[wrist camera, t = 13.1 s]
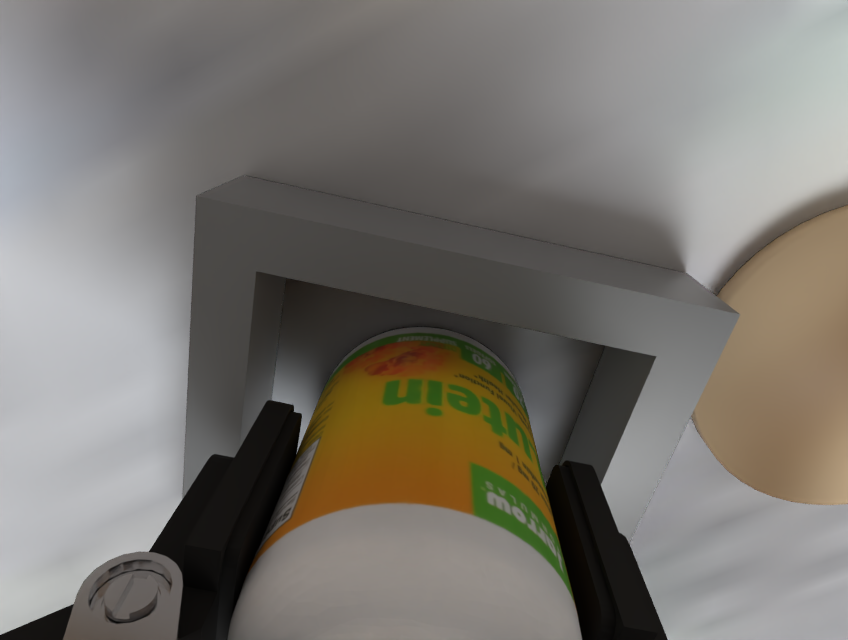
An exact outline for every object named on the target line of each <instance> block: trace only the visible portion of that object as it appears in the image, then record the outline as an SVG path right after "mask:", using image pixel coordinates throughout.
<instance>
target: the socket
mask: <svg viewBox="0 0 848 640" xmlns="http://www.w3.org/2000/svg"><path fill="white" fill-rule="evenodd" d="M286 278H290V279H295V280H299V281H304V282H309V283H314V284H318V285H323V286H328V287H332V288H337V289H342V290H346V291H351V292H356V293H361V294H365V295H370V296H375V297H379V298H384V299H389V300H393V301H398V302H403V303H408V304H412V305H417V306H422V307H426V308H431V309H436V310H441V311H445V312H450V313H455V314H459V315H464V316H469V317H473V318H478V319H483V320H488V321H492V322H497V323H502V324H506V325H511V326H516V327H520V328H525V329H530V330H535V331H539V332H544V333H549V334H553V335H558V336H563V337H567V338H572V339H577V340H582V341H586V342H591V343H596V344H600V345H605V348H604V351H603V353H602V356H601V358H600V361H599V364H598V366H597V369H596V371H595V374H594V377H593V379H592V382H591V384H590V387H589V389H588V392H587V395H586V397H585V400H584V402H583V405H582V408H581V410H580V413H579V415H578V418H577V420H576V423H575V426H574V428H573V431H572V433H571V436H570V439H569V441H568V444H567V446H566V449H565V451H564V454H563V457H562V459H561V462H560V464H559V465H560V466H562V464H563V463H564V461H566V460H569V461H574V462H579V463H584V464H589V465H592V466H593V467H594V469H595V472H596V474H597V477H598V480H599V482H600V485H601V487H602V490H603V492H604V495H605V498H606V500H607V503H608V505H609V508H610V510H611V513H612V516H613V518H614V521H615V523H616V526H617V528H618V531H619V533H622V534H623V535H624V536H625V537H626V539H627V540H628V542H629V543H630V541H631V539H632V537H633V535H634V533H635V531H636V529H637V527H638V525H639V522H640V520H641V518H642V516H643V514H644V512H645V510H646V508H647V506H648V504H649V502H650V500H651V498H652V496H653V494H654V492H655V489H656V487H657V485H658V483H659V481H660V479H661V477H662V475H663V473H664V471H665V469H666V467H667V465H668V463H669V461H670V459H671V457H672V454H673V452H674V450H675V448H676V446H677V444H678V442H679V440H680V438H681V436H682V434H683V432H684V430H685V428H686V426H687V424H688V421H689V419H690V417H691V415H692V413H693V411H694V409H695V407H696V405H697V403H698V401H699V399H700V397H701V395H702V393H703V391H704V389H705V386H706V384H707V382H708V380H709V378H710V376H711V374H712V372H713V370H714V368H715V366H716V364H717V362H718V360H719V358H720V356H721V354H722V351H723V349H724V347H725V345H726V343H727V341H728V339H729V337H730V335H731V333H732V331H733V329H734V327H735V325H736V323H737V321H738V318H739V316H740V314H739V313H738V312H737V311H735V310H734V309H733V308H731V307H730V306H729V305H727V304H726V303H725V302H724V301H722V300H721V299H720V298H718V297H717V296H716V295H714V294H713V293H712V292H711V291H709V290H708V289H707V288H705V287H704V286H703V285H701V284H700V283H699V282H698V281H696V280H695V279H694V278H692V277H691V276H690V275H688V274H687V273H683V272H679V271H674V270H670V269H665V268H660V267H656V266H651V265H647V264H642V263H638V262H633V261H629V260H624V259H620V258H615V257H611V256H606V255H602V254H597V253H593V252H588V251H584V250H579V249H575V248H570V247H565V246H561V245H556V244H552V243H547V242H543V241H538V240H534V239H529V238H525V237H520V236H516V235H511V234H507V233H502V232H498V231H493V230H489V229H484V228H480V227H475V226H470V225H466V224H461V223H457V222H452V221H448V220H443V219H439V218H434V217H430V216H425V215H421V214H416V213H412V212H407V211H403V210H398V209H394V208H389V207H384V206H380V205H375V204H371V203H366V202H362V201H357V200H353V199H348V198H344V197H339V196H335V195H330V194H326V193H321V192H317V191H312V190H308V189H303V188H299V187H294V186H289V185H285V184H280V183H276V182H271V181H267V180H262V179H258V178H253V177H249V176H244V175H243V176H241V177H239V178H236V179H234V180H232V181H229V182H227V183H225V184H222V185H220V186H218V187H215V188H213V189H211V190H208V191H206V192H204V193H201V194H199V195H197V196H196V214H195V236H194V258H193V280H192V302H191V324H190V346H189V368H188V390H187V412H186V434H185V456H184V478H183V498H184V496H185V495H186V493H187V492H188V490H189V488H190V487H191V485H192V484H193V482H194V481H195V479H196V477H197V476H198V474H199V473H200V471H201V470H202V468H203V467H204V465H205V463H206V462H207V460H208V459H209V458H210V457H211V455H213V454H218V455H223V456H228V457H235V455H236V454H237V452H238V450H239V448H240V447H241V445H242V443H243V441H244V440H245V438H246V436H247V434H248V433H249V431H250V429H251V427H252V426H253V424H254V422H255V420H256V419H257V417H258V415H259V413H260V412H261V410H262V408H263V406H264V405H265V403H266V402H267V401H268V400H272V391H273V383H274V374H275V366H276V357H277V349H278V340H279V332H280V323H281V315H282V307H283V298H284V290H285V281H286Z"/></svg>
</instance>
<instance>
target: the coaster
mask: <svg viewBox="0 0 848 640" xmlns="http://www.w3.org/2000/svg"><path fill="white" fill-rule="evenodd" d="M717 297H718V298H720V299H721V300H722V301H724V302H725V303H726V304H727V305H729V306H730V307H731V308H733V309H734V310H735V311H737V312H738V313H739V314H740V316H739V318H738V321H737V323H736V325H735V327H734V329H733V331H732V333H731V335H730V337H729V339H728V341H727V343H726V345H725V347H724V349H723V351H722V354H721V356H720V358H719V360H718V362H717V364H716V366H715V368H714V370H713V372H712V374H711V376H710V378H709V380H708V382H707V384H706V386H705V389H704V391H703V393H702V395H701V397H700V399H699V401H698V403H697V405H696V407H695V409H694V411H693V413H692V415H691V417H692V420H693V422H694V424H695V427H696V429H697V431H698V433H699V434H700V436H701V437H702V439H703V440H704V442H705V443H706V445H707V446H708V448H709V449H710V450H711V452H712V453H713V455H714V456H715V457H716V459H717V460H718V461H719V462H720V463H721V464H722V465H723V466H724V467H725V468H726V470H727V471H729V472H730V473H731V474H732V475H734V476H735V477H736V478H737V479H739V480H740V481H741V482H743V483H745V484H747V485H748V486H750V487H752V488H754V489H755V490H757V491H760V492H762V493H765V494H767V495H770V496H772V497H776V498H780V499H783V500H787V501H791V502H798V503H805V504H817V505H838V504H848V205H846V206H843V207H840V208H838V209H835V210H832V211H829V212H826V213H823V214H821V215H819V216H817V217H815V218H813V219H810V220H808V221H806V222H804V223H802V224H800V225H798V226H796V227H795V228H793V229H791V230H790V231H788V232H786V233H785V234H783V235H781V236H780V237H778V238H776V239H775V240H774V241H772V242H771V243H770V244H768V245H767V246H766V247H764V248H763V249H762V250H760V251H759V252H758V253H756V254H755V255H754V256H753V257H752V258H751V259H750V260H749V261H748V262H747V263H745V264H744V265H743V266H742V267H741V268H740V269H739V270H738V271H737V272H736V273H735V274H734V275H733V277H732V278H731V279H730V280H729V281H728V282H727V283H726V285H725V286H724V287H723V288H722V289H721V291H720V292H719V294H718V295H717Z"/></svg>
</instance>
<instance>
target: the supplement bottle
mask: <svg viewBox="0 0 848 640" xmlns="http://www.w3.org/2000/svg"><path fill="white" fill-rule="evenodd" d="M227 640H582V636H581V631H580V626H579V620H578V614H577V610H576V605H575V601H574V597H573V593H572V589H571V585H570V581H569V577H568V574H567V570H566V566H565V562H564V558H563V555H562V551H561V547H560V543H559V539H558V535H557V531H556V527H555V523H554V519H553V515H552V511H551V507H550V503H549V499H548V495H547V491H546V487H545V483H544V479H543V475H542V472H541V468H540V464H539V459H538V455H537V450H536V446H535V442H534V438H533V434H532V430H531V425H530V421H529V417H528V413H527V410H526V406H525V403H524V399H523V396H522V393H521V390H520V388H519V386H518V384H517V382H516V380H515V378H514V376H513V375H512V373H511V372H510V370H509V369H508V368H507V367H506V365H505V364H504V363H503V362H502V361H501V360H500V359H499V358H498V357H497V356H496V355H495V354H494V353H493V352H492V351H490V350H489V349H488V348H486V347H485V346H483V345H482V344H480V343H478V342H477V341H475V340H473V339H471V338H469V337H467V336H464V335H462V334H459V333H456V332H453V331H449V330H444V329H439V328H431V327H410V328H402V329H396V330H392V331H388V332H385V333H382V334H379V335H377V336H375V337H372V338H370V339H368V340H367V341H365V342H363V343H362V344H360V345H359V346H357V347H356V348H355V349H353V350H352V351H351V352H350V353H349V354H348V355H346V356H345V357H344V359H343V360H342V361H341V362H340V363H339V364H338V366H337V367H336V368H335V370H334V371H333V373H332V374H331V376H330V378H329V380H328V381H327V383H326V385H325V388H324V390H323V392H322V394H321V396H320V398H319V401H318V403H317V406H316V408H315V411H314V413H313V416H312V418H311V420H310V423H309V425H308V428H307V430H306V433H305V435H304V438H303V440H302V442H301V445H300V447H299V450H298V452H297V455H296V457H295V460H294V462H293V465H292V467H291V470H290V472H289V474H288V476H287V479H286V481H285V484H284V487H283V489H282V492H281V494H280V497H279V499H278V502H277V504H276V506H275V509H274V511H273V514H272V516H271V519H270V521H269V524H268V526H267V528H266V531H265V534H264V536H263V538H262V541H261V543H260V545H259V547H258V549H257V551H256V554H255V557H254V559H253V561H252V564H251V566H250V568H249V571H248V573H247V576H246V578H245V580H244V583H243V586H242V589H241V592H240V595H239V598H238V601H237V604H236V606H235V609H234V612H233V615H232V618H231V622H230V627H229V632H228V638H227Z"/></svg>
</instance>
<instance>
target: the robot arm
mask: <svg viewBox="0 0 848 640" xmlns="http://www.w3.org/2000/svg"><path fill="white" fill-rule="evenodd" d="M301 419H302V414H301V413H296V412H294V406H293V405H291V404H286V403H281V402H276V401H271V400H268V401H267V402H266V403H265V405H264V406H263V408H262V410H261V412H260V413H259V415H258V417H257V419H256V420H255V422H254V424H253V426H252V427H251V429H250V431H249V433H248V434H247V436H246V438H245V440H244V441H243V443H242V445H241V447H240V448H239V450H238V452H237V454H236V455H235V457H228V456H223V455H218V454H213V455H211V457H210V458H209V459H208V460H207V462H206V463H205V465H204V467H203V468H202V470H201V471H200V473H199V474H198V476H197V477H196V479H195V481H194V482H193V484H192V485H191V487H190V488H189V490H188V492H187V493H186V495H185V496H184V498H183V499H182V501H181V502H180V504H179V506H178V507H177V509H176V510H175V512H174V513H173V515H172V517H171V518H170V520H169V521H168V523H167V524H166V526H165V527H164V529H163V531H162V532H161V534H160V535H159V537H158V538H157V540H156V542H155V543H154V545H153V546H152V548H151V549H150V551H149V552H135V553H129V554H124V555H121V556H119V557H116V558H114V559H111V560H109V561H107V562H106V563H104V564H103V565H101V566H100V567H98V568H96V569H95V570H94V571H93V572H92V573H91V574H90V575H89V576H88V577H87V578H86V579H85V580H84V582H83V584H82V586H81V588H80V589H79V591H78V593H77V596H76V599H75V602H74V604H73V605H70V606H68V607H66V608H63V609H61V610H59V611H56V612H54V613H52V614H49V615H47V616H44V617H42V618H40V619H37V620H35V621H33V622H30V623H28V624H25V625H23V626H21V627H18V628H16V629H14V630H11V631H9V632H7V633H4V634H2V635H0V640H227V638H228V632H229V627H230V622H231V618H232V615H233V612H234V609H235V606H236V604H237V601H238V598H239V595H240V592H241V589H242V586H243V583H244V580H245V578H246V576H247V573H248V571H249V568H250V566H251V564H252V561H253V559H254V557H255V554H256V551H257V549H258V547H259V545H260V543H261V541H262V538H263V536H264V534H265V531H266V528H267V526H268V524H269V521H270V519H271V516H272V514H273V511H274V509H275V506H276V504H277V502H278V499H279V497H280V494H281V492H282V489H283V487H284V484H285V481H286V479H287V476H288V474H289V472H290V470H291V467H292V465H293V462H294V460H295V457H296V453H297V447H298V440H299V433H300V426H301ZM546 491H547V495H548V499H549V503H550V507H551V511H552V515H553V519H554V523H555V527H556V531H557V535H558V539H559V543H560V547H561V551H562V555H563V558H564V562H565V566H566V570H567V574H568V577H569V581H570V585H571V589H572V593H573V597H574V601H575V605H576V610H577V614H578V620H579V626H580V631H581V636H582V640H668V639H667V637H666V634H665V632H664V629H663V627H662V624H661V622H660V619H659V617H658V614H657V612H656V609H655V607H654V604H653V602H652V599H651V597H650V594H649V592H648V589H647V587H646V584H645V582H644V579H643V577H642V574H641V572H640V569H639V567H638V564H637V562H636V559H635V557H634V554H633V552H632V549H631V547H630V544H629V542H628V540H627V539H626V537H625V536H624V535H623V534H622V533H619V531H618V528H617V526H616V523H615V521H614V518H613V516H612V513H611V510H610V508H609V505H608V503H607V500H606V498H605V495H604V492H603V490H602V487H601V485H600V482H599V480H598V477H597V474H596V472H595V469H594V467H593V466H592V465H589V464H584V463H579V462H574V461H569V460H566V461H564V463H563V464H562V466H560V465H555V467H554V468H553V470H552V473H551V475H550V478H549V481H548V483H547V486H546Z"/></svg>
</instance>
